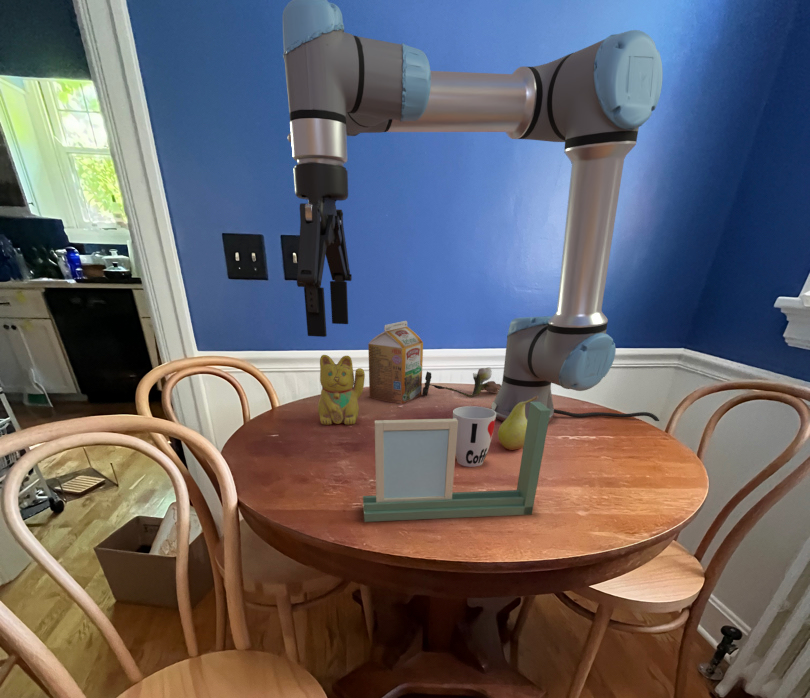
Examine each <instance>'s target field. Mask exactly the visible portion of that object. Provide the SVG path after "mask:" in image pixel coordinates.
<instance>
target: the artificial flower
mask: <svg viewBox="0 0 810 698" xmlns="http://www.w3.org/2000/svg"><path fill="white" fill-rule="evenodd" d="M472 376H473V377H472V378H473V380H474V388H473V391H472V394H469V393H465V392H464V391H463V392H462V391H461V390H457V389H454V388H452V387H448V386H441V385H436V384H431V381H432V380H431V379H432V372H430V371H428V370H426V374H425V376H424V377H425V378H424V380H425V382H424V387H423V386H422V392H421V395H422V396H424V397H425V396H426V397H427V396H428V393H429V390H430V386H431V387H434V388H435V389H438V390H449V391H453V392H456V393H458V394H460V395H463V396H466V397H470V398H471V397H473V396H478V395H480V394H481V392H482V391H486V392H488V393H495V394H498V392H499V389H500V387H501V385H502V384H500V383H497V382H496V381H495V380H490V379H491V378H492V376H493V371H492V368H491V367H483V368H479V369H478V371H477V372H476V373H475V372H473V373H472ZM489 380H490V381H489Z"/></svg>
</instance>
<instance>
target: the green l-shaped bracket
mask: <svg viewBox="0 0 810 698" xmlns="http://www.w3.org/2000/svg"><path fill="white" fill-rule="evenodd" d="M550 411H551V410H550V409H548V408H547V407H546V406H545V405H543V404H542V403H541V402H530V407H529V414H528V420H527V427H526V433H525V440H524V446H523V448H522V454H521V459H520V466H519V472H518V479H517V486H516V489H507V490H506V489H505V490H483V491H482V490H481V491H456V492H455V491H454V492H453V493H452V499H450V500H425V501H401V502H376V495H362V510H363V521H364V523H370V522H371V523H372V522H373V523H374V522H392V521H414V520H415V521H416V520H437V519H461V518H462V519H463V518H482V517H483V518H484V517H505V516H531V515H533V511H534V507H535V500H536V495H537V488H538V483H539V478H540V473H541V466H542V461H543V456H544V449H545V444H546V438H547V433H548V427H549V423H550V422H549V417H550Z"/></svg>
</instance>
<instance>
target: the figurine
mask: <svg viewBox="0 0 810 698" xmlns="http://www.w3.org/2000/svg"><path fill="white" fill-rule="evenodd" d="M319 369H320V370H319V382H320V385H321V391H320V398H319V399H318V404H317V413H318V416H319V420H320V424H322V425H323V426H327V425H328V426H330V425H331V426H332V424H335V425H340V424H344V425H346V426H349V425H350V426H352V425H355V424H356V421H357V418H358V416H359V411H360V406H359V402H358V401H359V398H360V397H361V395H362V393H363V391H364V387H365V377H366V374H365V370H364V369H363V368H362V367H359V368H356V369H355V373H354V368H353V360H352V358H351V356H349V355H342V357H341V358H340V359H339V360H338V362H337V363H335V361H334V360H333V359H332V358H331V356H329V355H328V354H322V355H320V359H319Z"/></svg>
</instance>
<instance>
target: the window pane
mask: <svg viewBox="0 0 810 698" xmlns="http://www.w3.org/2000/svg"><path fill="white" fill-rule="evenodd" d="M457 427H458V421H457V419H453V418H422V419H421V418H420V419H419V418H418V419H417V418H416V419H377V420H376V419H375V420H374V461H375V462H374V463H375V464H374V465H375V466H374V467H375V470H374V471H375V496H376V502H401V501H425V500H450V499H452V493H453V491H454V479H455V466H456V465H455V464H456V454H455V453H456V440H457Z"/></svg>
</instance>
